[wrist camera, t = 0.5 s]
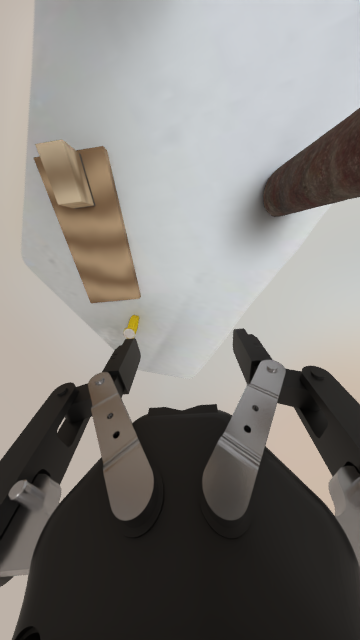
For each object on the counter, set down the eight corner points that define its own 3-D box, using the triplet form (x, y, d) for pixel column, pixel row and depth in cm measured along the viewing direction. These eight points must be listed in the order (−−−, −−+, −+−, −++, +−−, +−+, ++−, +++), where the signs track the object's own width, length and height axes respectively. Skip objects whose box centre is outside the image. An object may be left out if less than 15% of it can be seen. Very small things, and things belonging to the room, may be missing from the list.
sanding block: (57, 158, 26) (35, 144, 22) (80, 154, 26) (62, 139, 22) (75, 208, 30) (58, 204, 26) (95, 205, 29) (81, 201, 25)
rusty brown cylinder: (251, 194, 29) (354, 130, 12) (287, 152, 27) (492, -12, 9) (275, 226, 32) (391, 213, 14) (310, 190, 29) (511, 119, 11)
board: (40, 161, 28) (33, 157, 26) (106, 150, 27) (103, 146, 26) (93, 300, 40) (90, 303, 38) (140, 296, 39) (139, 298, 38)
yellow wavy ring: (132, 311, 41) (124, 320, 36) (142, 313, 42) (137, 323, 36) (129, 330, 44) (121, 342, 38) (139, 333, 44) (133, 345, 38)
